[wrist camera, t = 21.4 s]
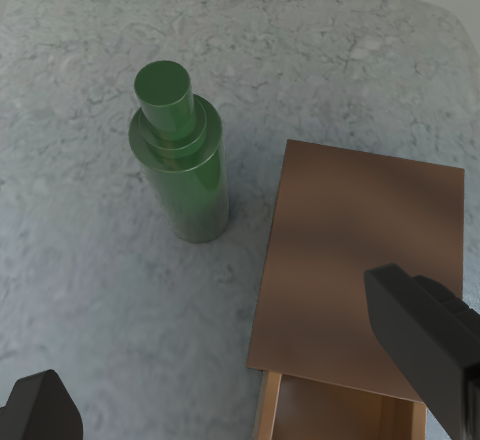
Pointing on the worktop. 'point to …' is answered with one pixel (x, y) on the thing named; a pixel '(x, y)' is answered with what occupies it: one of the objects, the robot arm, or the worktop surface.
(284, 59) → the worktop surface
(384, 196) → the cabinet
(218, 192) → the bottle
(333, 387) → the drawer
